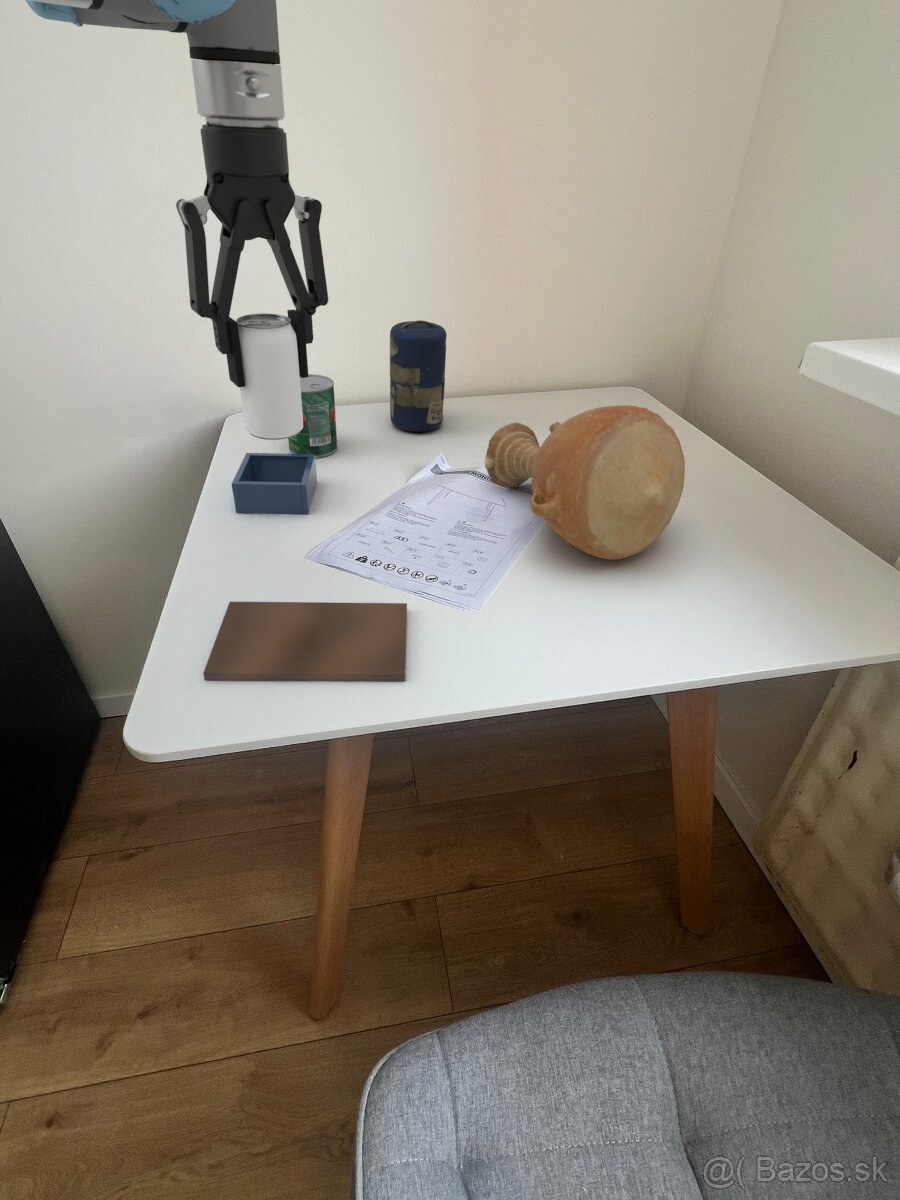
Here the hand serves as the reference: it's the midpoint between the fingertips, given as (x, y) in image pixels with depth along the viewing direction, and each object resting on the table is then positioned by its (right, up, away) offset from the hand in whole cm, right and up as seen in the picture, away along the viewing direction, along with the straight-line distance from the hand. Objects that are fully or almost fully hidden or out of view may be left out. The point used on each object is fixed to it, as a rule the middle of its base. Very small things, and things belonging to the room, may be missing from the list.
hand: (269, 378), depth 76 cm
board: (+5, -29, -1) cm, 29 cm away
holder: (-5, -9, +25) cm, 27 cm away
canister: (+14, +7, +49) cm, 51 cm away
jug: (+37, -13, +22) cm, 45 cm away
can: (0, -5, +4) cm, 6 cm away
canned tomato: (-3, +1, +39) cm, 39 cm away
